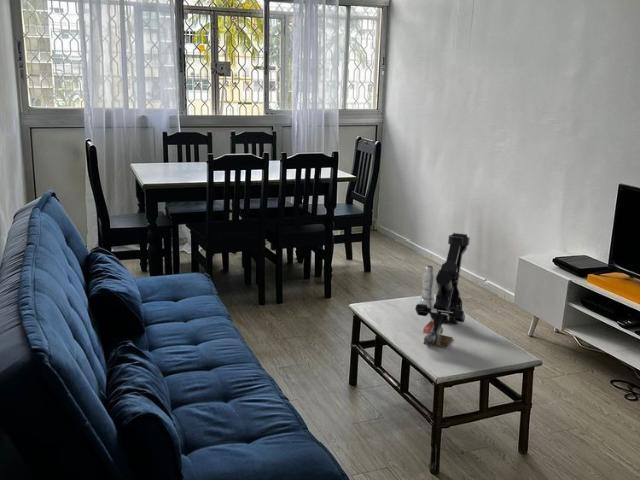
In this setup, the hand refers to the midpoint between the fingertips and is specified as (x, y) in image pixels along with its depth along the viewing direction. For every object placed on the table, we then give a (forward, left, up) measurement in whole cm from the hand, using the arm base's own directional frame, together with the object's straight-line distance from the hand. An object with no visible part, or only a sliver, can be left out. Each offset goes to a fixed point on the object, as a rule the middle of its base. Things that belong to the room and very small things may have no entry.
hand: (435, 332), depth 241 cm
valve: (-9, +2, -7) cm, 12 cm away
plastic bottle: (-44, -1, -8) cm, 45 cm away
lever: (-5, -2, 0) cm, 5 cm away
